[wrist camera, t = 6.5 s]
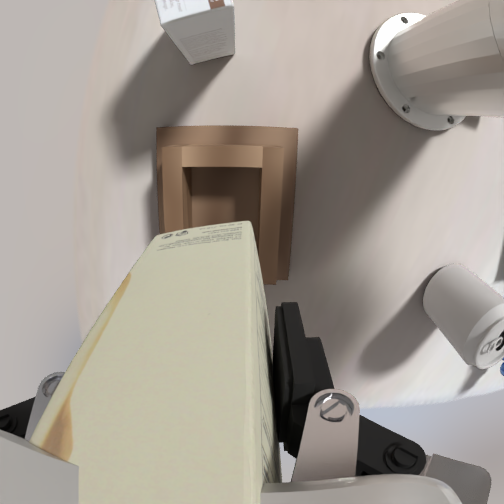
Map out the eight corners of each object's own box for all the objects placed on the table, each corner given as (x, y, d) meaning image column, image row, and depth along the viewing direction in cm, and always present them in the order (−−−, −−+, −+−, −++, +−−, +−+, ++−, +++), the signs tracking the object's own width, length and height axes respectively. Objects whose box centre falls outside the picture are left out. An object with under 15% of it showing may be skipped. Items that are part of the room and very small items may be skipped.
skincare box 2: (153, 232, 13) (-28, 505, 2) (253, 216, 13) (258, 596, 1) (189, 349, 15) (139, 585, 4) (272, 341, 15) (291, 597, 4)
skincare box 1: (177, 14, 21) (136, -47, 10) (224, 1, 21) (211, -69, 10) (191, 69, 24) (152, 28, 12) (240, 56, 23) (235, 4, 12)
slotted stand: (295, 128, 26) (307, 127, 21) (286, 273, 31) (293, 301, 26) (161, 127, 26) (141, 127, 20) (166, 270, 31) (152, 297, 26)
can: (460, 308, 34) (510, 363, 22) (415, 319, 34) (461, 384, 23) (471, 256, 31) (533, 304, 20) (423, 264, 31) (484, 322, 20)
